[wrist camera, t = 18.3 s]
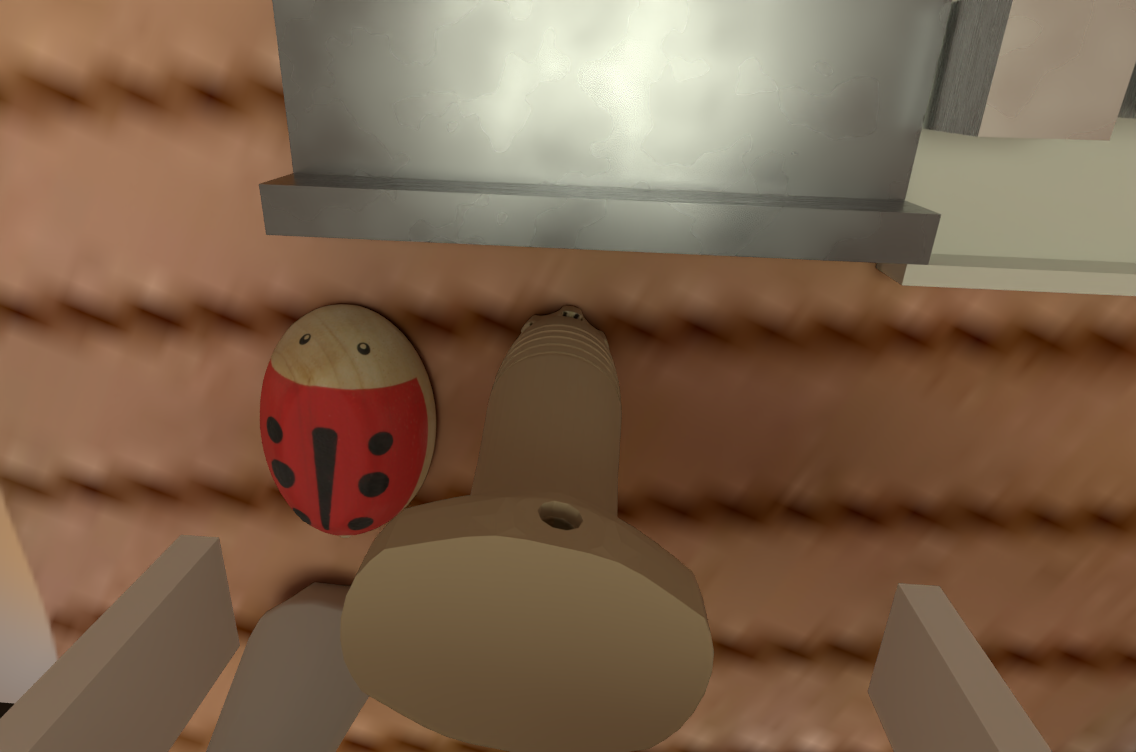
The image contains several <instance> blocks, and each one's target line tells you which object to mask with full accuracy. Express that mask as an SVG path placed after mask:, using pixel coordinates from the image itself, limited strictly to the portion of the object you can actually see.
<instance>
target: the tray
mask: <svg viewBox="0 0 1136 752" xmlns="http://www.w3.org/2000/svg"><path fill="white" fill-rule="evenodd" d="M955 1H959V0H952V2H955ZM905 201H908V202H911V203H913V204H916V205H918V206H921V207H924V208H926V209H929V210H931V211H934V212H937V213H939V214H941V218H940V222H939V225H938V229H937V233H936V237H935V241H934V245H933V249H932V252H931V256H930V260H929V264H928V265H916V264H894V263H877V265H876V268H877V269H878V270H880V271H881V272H883V273H884V274H886V275H887V276H889V277H890V278H892V279H893V280H895V281H896V282H898V283H899V284H901V285H907V286H928V287H950V288H972V289H993V290H1015V291H1036V292H1058V293H1080V294H1101V295H1123V296H1136V119H1134V118H1120V117H1117V120H1116V123H1115V126H1114V129H1113V132H1112V135H1111V138H1110V141H1104V140H1071V139H1037V138H1004V137H976V136H970V135H963V134H956V133H949V132H942V131H936V130H929V129H922V130H921V134H920V138H919V143H918V147H917V151H916V155H915V160H914V164H913V168H912V172H911V177H910V181H909V185H908V189H907V194H906V198H905Z"/></svg>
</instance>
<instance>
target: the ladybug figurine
mask: <svg viewBox="0 0 1136 752" xmlns="http://www.w3.org/2000/svg"><path fill="white" fill-rule="evenodd" d="M260 430H261V438H262V444H263V449H264V453H265V457H266V461H267V464H268V467H269V470H270V472H271V475H272V477H273V479H274V481H275V483H276V485H277V487H278V489H279V491H280V493H281V494H282V496H283V497H284V499H285V500H286V502H287V503H288V504H289V506H290V507H291V508H292V509H293V511H294V512H295V513H296V514H297V515H298V516H299V517H300V518H301V519H302V520H303V521H304V522H306V523H307V524H309V525H311V526H313V527H314V528H316V529H318V530H320V531H323V532H325V533H329V534H333V535H339V536H340V537H343V538H348V537H351V536H353V535H357V534H361V533H365V532H368V531H371V530H373V529H376V528H378V527H380V526H381V525H383V524H385V523H387V522H388V521H389V520H391V519H392V518H394V517H395V516H396V515H397V514H399V513H400V512H401V511H402V510H403V509H404V508H405V507H406V506H407V505H408V504H409V503H410V501H411V500H412V499H413V498H414V496H415V495H416V494H417V492H418V491H419V489H420V488H421V486H422V484H423V482H424V480H425V478H426V475H427V473H428V470H429V467H430V464H431V460H432V456H433V451H434V446H435V438H436V410H435V402H434V397H433V392H432V387H431V384H430V381H429V378H428V375H427V372H426V370H425V367H424V365H423V363H422V361H421V359H420V357H419V355H418V354H417V352H416V350H415V349H414V347H413V346H412V344H411V343H410V342H409V340H408V339H407V338H406V337H405V335H404V334H403V333H402V332H401V331H400V330H399V329H398V328H397V327H396V326H394V325H393V324H392V323H391V322H390V321H388V320H387V319H386V318H384V317H383V316H381V315H379V314H378V313H376V312H374V311H372V310H369V309H367V308H364V307H361V306H357V305H348V304H336V305H329V306H324V307H321V308H318V309H316V310H313V311H312V312H310V313H308V314H306V315H305V316H303V317H302V318H300V319H299V320H298V321H296V322H295V323H294V324H293V325H292V326H291V327H290V328H289V329H288V330H287V331H286V333H285V334H284V335H283V337H282V338H281V340H280V341H279V343H278V344H277V346H276V348H275V350H274V352H273V354H272V356H271V358H270V361H269V363H268V366H267V370H266V373H265V376H264V380H263V386H262V392H261V401H260Z"/></svg>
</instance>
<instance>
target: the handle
mask: <svg viewBox="0 0 1136 752" xmlns="http://www.w3.org/2000/svg"><path fill="white" fill-rule="evenodd" d="M521 333H522V334H521V335H520V336H519V337H518V338H517V340H516V341H515V342H514V344H513V345H512V346H511V348H510V349H509V351H508V353H507V355H506V357H505V358H504V360H503V362H502V364H501V366H500V368H499V370H498V373H497V376H496V378H495V382H494V385H493V388H492V391H491V394H490V398H489V401H488V407H487V413H486V418H485V424H484V430H483V435H482V441H481V447H480V452H479V458H478V463H477V467H476V472H475V476H474V481H473V486H472V490H471V495H467V496H461V497H454V498H449V499H445V500H440V501H435V502H431V503H427V504H422V505H418V506H414V507H410V508H406V509H405V510H403V511H402V512H401V513H400V514H398V515H397V516H396V517H395V518H394V519H392V520H391V521H390V522H389V523H388V524H387V525H386V526H385V528H384V529H383V530H382V531H381V532H380V533H379V534H378V535H377V537H376V538H375V540H374V541H373V543H372V544H371V546H370V548H369V550H368V552H367V554H366V556H365V558H364V560H363V562H362V564H361V566H360V568H359V570H358V572H357V574H356V576H355V579H354V581H353V583H352V585H351V587H350V589H349V591H348V593H347V595H346V599H345V603H344V607H343V611H342V615H341V627H340V642H341V647H342V652H343V658H344V661H345V663H346V666H347V668H348V670H349V672H350V674H351V676H352V678H353V679H354V681H355V682H356V684H357V685H358V687H359V688H360V690H361V691H362V692H364V693H365V694H367V695H369V696H370V697H372V698H374V699H376V700H377V701H379V702H381V703H382V704H384V705H386V706H388V707H389V708H391V709H393V710H395V711H396V712H398V713H400V714H402V715H403V716H405V717H407V718H409V719H411V720H413V721H414V722H416V723H418V724H420V725H422V726H423V727H426V728H428V729H430V730H432V731H435V732H437V733H439V734H441V735H444V736H446V737H449V738H453V739H456V740H460V741H463V742H467V743H471V744H475V745H480V746H485V747H490V748H495V749H500V750H505V751H510V752H629V751H637V750H646V749H650V748H652V747H653V746H655V745H657V744H659V743H660V742H662V741H664V740H665V739H667V738H668V737H669V736H671V735H672V734H673V733H675V732H676V731H677V730H679V729H680V728H681V727H682V726H683V724H684V723H685V722H686V721H687V720H688V719H689V717H690V716H691V715H692V714H693V713H694V711H695V709H696V708H697V706H698V704H699V702H700V701H701V699H702V697H703V696H704V694H705V691H706V688H707V685H708V682H709V679H710V676H711V673H712V666H713V657H714V650H713V644H712V639H711V633H710V628H709V624H708V619H707V614H706V610H705V606H704V601H703V597H702V595H701V592H700V589H699V586H698V584H697V581H696V578H695V576H694V574H693V572H692V571H691V570H690V569H688V568H687V567H686V566H685V565H684V564H682V563H681V562H680V561H679V560H678V559H676V558H675V557H674V556H673V555H671V554H670V553H669V552H668V551H666V550H665V549H664V548H662V547H661V546H660V545H659V544H657V543H656V542H655V541H653V540H652V539H650V538H649V537H647V536H646V535H644V534H643V533H642V532H640V531H639V530H637V529H636V528H634V527H633V526H631V525H629V524H628V523H626V522H624V521H623V520H621V519H619V518H618V517H617V500H618V469H619V453H620V437H621V419H622V411H621V409H622V408H621V395H620V388H619V381H618V377H617V373H616V369H615V365H614V362H613V359H612V357H611V354H610V351H609V345H608V342H607V339H606V336H605V334H604V333H603V332H602V331H600V330H597V329H595V328H594V327H593V326H591V325H590V324H589V323H588V322H587V321H586V320H585V318H584V317H583V314H582V311H581V310H580V309H579V308H577V307H574V306H563V307H562V308H561V309H560V310H559V311H557V312H555V313H552V314H549V315H544V316H538V315H533V316H532V317H531V318H530V319H529V320H528V321H527V322H526V323H525V325H524V326H523V328H522V329H521Z"/></svg>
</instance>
